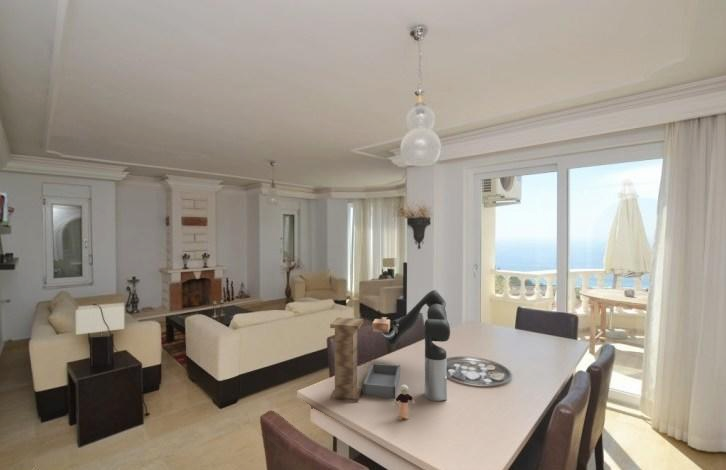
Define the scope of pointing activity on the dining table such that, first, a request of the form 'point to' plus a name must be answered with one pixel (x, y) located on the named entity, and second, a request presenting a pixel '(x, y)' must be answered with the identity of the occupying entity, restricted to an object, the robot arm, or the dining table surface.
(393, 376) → the tote
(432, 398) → the robot arm
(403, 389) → the grandmother figurine
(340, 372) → the brown tall square column
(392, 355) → the dining table surface
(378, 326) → the mallet
